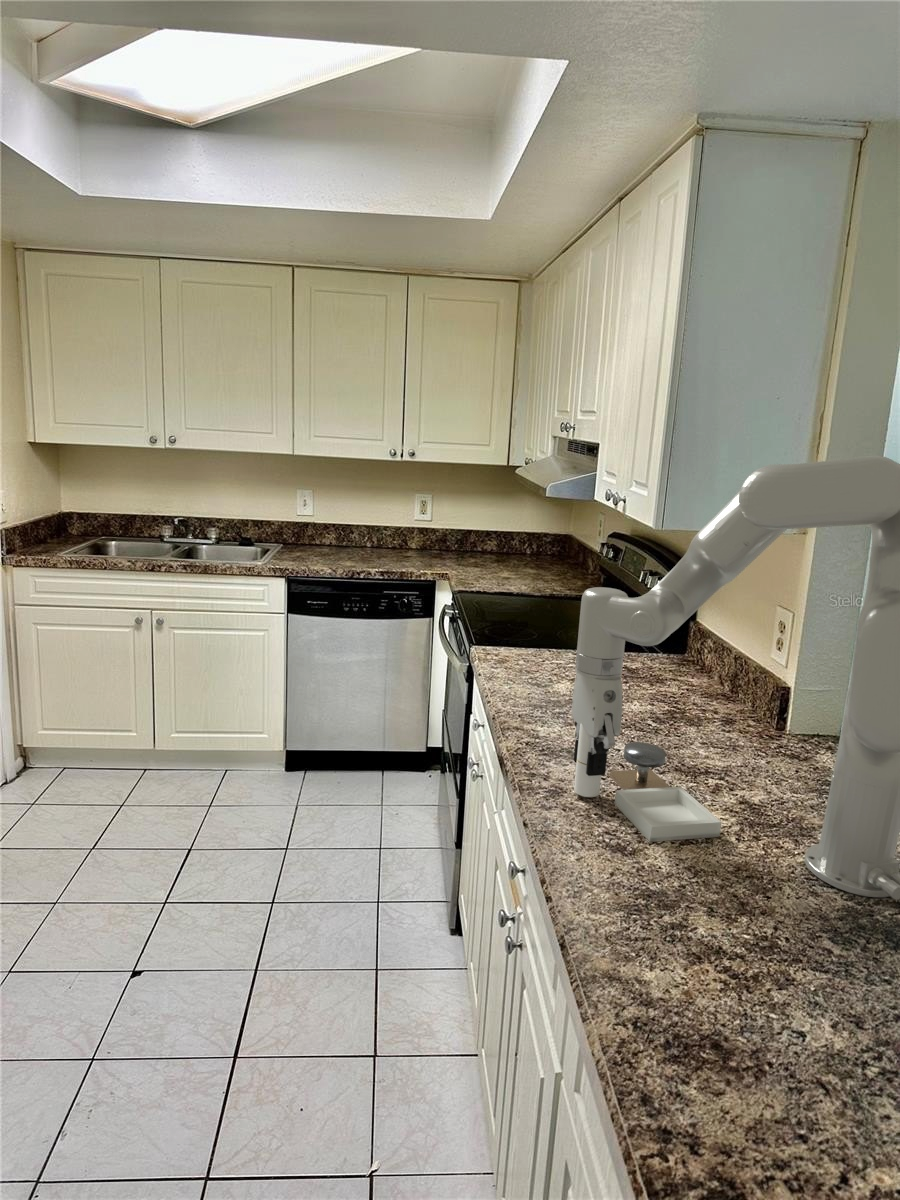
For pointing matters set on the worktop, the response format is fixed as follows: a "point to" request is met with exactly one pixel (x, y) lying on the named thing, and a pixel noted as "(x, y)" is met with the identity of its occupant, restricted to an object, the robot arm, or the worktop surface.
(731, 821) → the worktop surface
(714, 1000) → the worktop surface
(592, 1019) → the worktop surface
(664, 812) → the tray
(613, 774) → the knob on plate
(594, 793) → the tube
